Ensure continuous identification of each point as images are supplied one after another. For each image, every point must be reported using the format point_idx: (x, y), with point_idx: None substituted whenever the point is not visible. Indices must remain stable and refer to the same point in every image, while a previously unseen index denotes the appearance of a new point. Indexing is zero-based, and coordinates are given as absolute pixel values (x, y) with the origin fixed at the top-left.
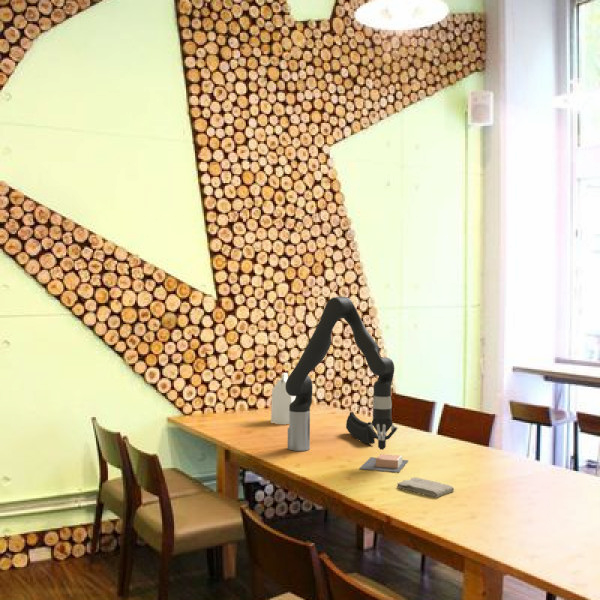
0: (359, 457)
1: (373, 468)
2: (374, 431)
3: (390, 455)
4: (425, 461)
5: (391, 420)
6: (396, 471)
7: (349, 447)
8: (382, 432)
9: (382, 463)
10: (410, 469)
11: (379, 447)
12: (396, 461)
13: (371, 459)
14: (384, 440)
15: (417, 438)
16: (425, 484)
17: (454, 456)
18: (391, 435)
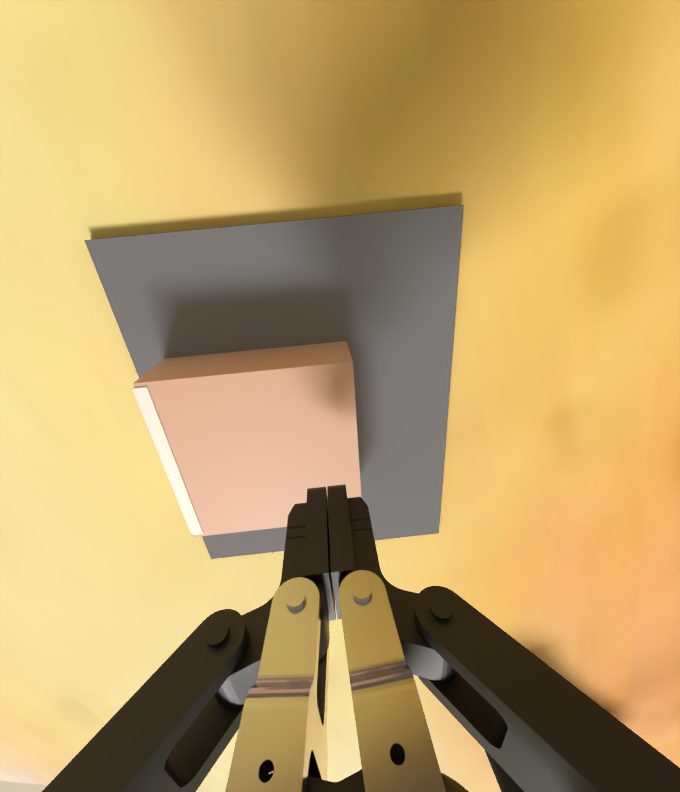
0: (503, 517)
1: (340, 260)
2: (498, 751)
3: (276, 510)
4: (127, 583)
5: None
6: (111, 243)
7: (569, 635)
8: (300, 751)
9: (288, 356)
10: (84, 392)
11: (351, 501)
12: (150, 378)
13: (423, 493)
14: (287, 590)
15: (332, 780)
16: None
17: (67, 687)
18: (126, 707)
